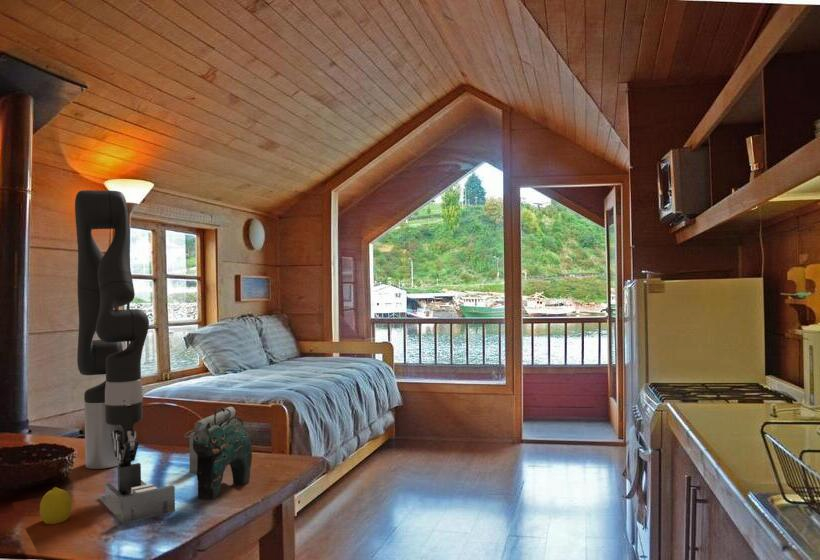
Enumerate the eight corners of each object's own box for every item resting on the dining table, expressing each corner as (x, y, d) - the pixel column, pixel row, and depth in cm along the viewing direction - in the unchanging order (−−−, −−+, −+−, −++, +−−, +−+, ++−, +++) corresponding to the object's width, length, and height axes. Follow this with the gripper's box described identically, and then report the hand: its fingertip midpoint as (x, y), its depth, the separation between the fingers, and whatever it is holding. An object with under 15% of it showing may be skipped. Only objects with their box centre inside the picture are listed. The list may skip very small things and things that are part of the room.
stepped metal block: (118, 499, 136) (117, 466, 136) (139, 494, 139) (139, 462, 139) (130, 511, 129) (129, 476, 129) (152, 505, 132) (152, 472, 132)
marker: (131, 512, 129) (130, 487, 129) (152, 507, 132) (151, 483, 132) (137, 517, 126) (136, 492, 126) (158, 512, 129) (157, 487, 129)
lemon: (48, 523, 128) (47, 483, 128) (76, 521, 129) (76, 482, 129) (34, 534, 123) (33, 492, 123) (64, 532, 123) (63, 491, 123)
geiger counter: (203, 422, 156) (249, 402, 180) (179, 421, 157) (228, 401, 181) (204, 479, 156) (249, 451, 180) (180, 477, 157) (229, 450, 181)
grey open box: (97, 504, 139) (97, 474, 139) (145, 493, 145) (144, 465, 145) (123, 531, 123) (122, 497, 123) (175, 518, 130) (174, 486, 130)
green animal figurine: (212, 509, 134) (211, 415, 134) (185, 507, 136) (184, 414, 136) (257, 480, 154) (256, 397, 154) (233, 479, 155) (231, 397, 155)
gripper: (97, 398, 142) (99, 475, 143) (113, 407, 132) (114, 490, 132) (133, 394, 147) (134, 468, 147) (150, 402, 137) (152, 482, 137)
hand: (125, 478), depth 140 cm, fingers closed
